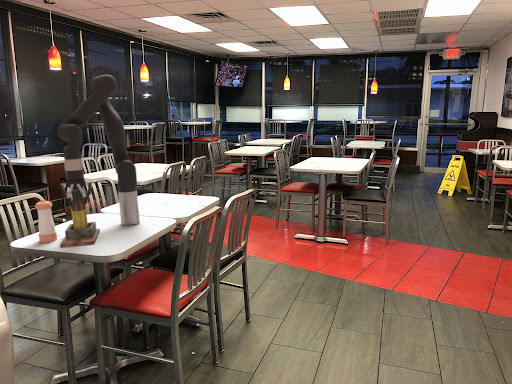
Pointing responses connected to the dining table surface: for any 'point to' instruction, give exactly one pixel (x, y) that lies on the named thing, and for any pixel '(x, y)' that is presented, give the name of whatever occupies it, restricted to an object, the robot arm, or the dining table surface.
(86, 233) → the stone serving dish
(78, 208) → the sauce bottle
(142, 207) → the dining table surface
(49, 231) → the pepper shaker
